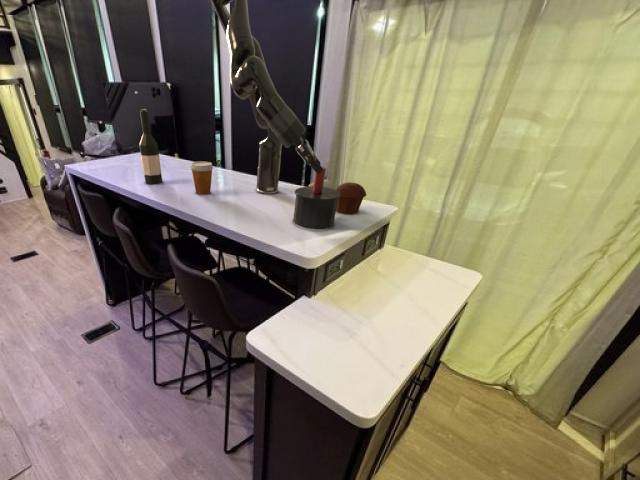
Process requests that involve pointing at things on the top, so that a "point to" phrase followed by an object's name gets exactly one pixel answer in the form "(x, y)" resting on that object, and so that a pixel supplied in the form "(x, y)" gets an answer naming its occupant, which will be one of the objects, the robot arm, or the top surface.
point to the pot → (314, 213)
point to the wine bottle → (149, 153)
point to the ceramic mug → (325, 184)
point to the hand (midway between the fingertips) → (319, 168)
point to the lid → (318, 190)
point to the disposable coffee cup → (202, 177)
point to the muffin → (350, 198)
